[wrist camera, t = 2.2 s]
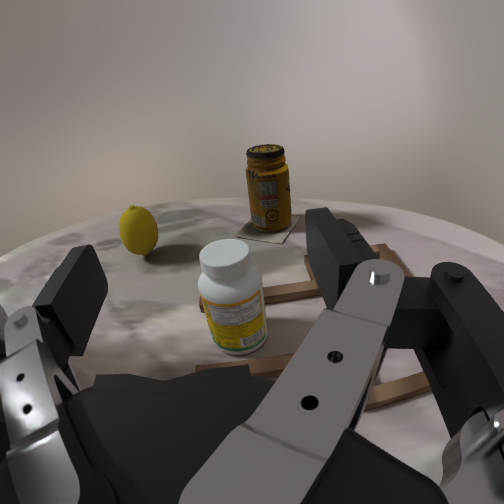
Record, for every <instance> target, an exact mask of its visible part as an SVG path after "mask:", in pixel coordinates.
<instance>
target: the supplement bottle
mask: <svg viewBox="0 0 504 504" xmlns="http://www.w3.org/2000/svg"><path fill="white" fill-rule="evenodd" d="M199 258H200V263H201V269H202V271H203V272H202V274H201V275H200V278H199V281H198V288H199V293H200V297H201V300H202V304H203V307H204V311H205V314H206V318H207V321H208V325H209V328H210V332H211V335H212V338H213V341H214V343H215V345H216V346H217V347H218V348H219V349H220V350H221V351H223V352H224V353H227V354H231V355H244V354H248V353H251V352H253V351H255V350H257V349H258V348H259V347H260V346H261V345H262V344H263V343H264V342H265V340H266V337H267V332H268V330H267V321H266V312H265V303H264V294H263V285H262V277H261V274H260V271H259V270H258V268H257V267H256V266H255V265H254V264H252V263H251V262H252V259H251V254H250V249H249V246H248V245H247V244H246V243H245V242H243V241H240V240H236V239H224V240H218V241H215V242H212V243H210V244H208V245H207V246H205V247H204V248H203V249H202V250H201V252H200V255H199Z"/></svg>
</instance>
